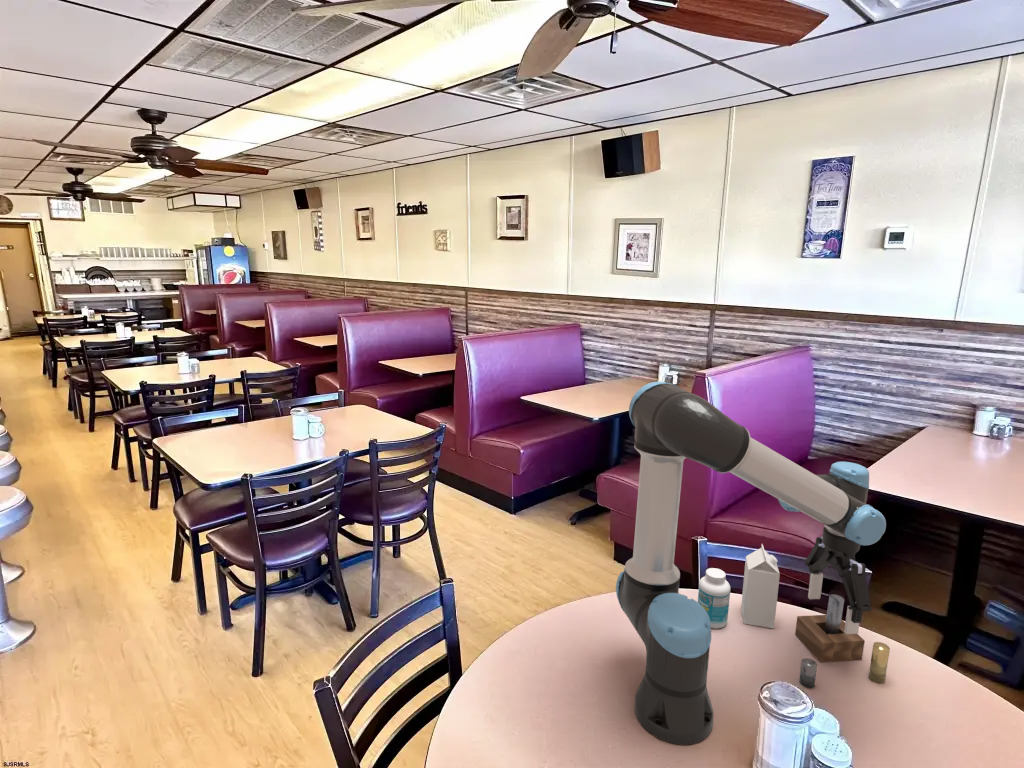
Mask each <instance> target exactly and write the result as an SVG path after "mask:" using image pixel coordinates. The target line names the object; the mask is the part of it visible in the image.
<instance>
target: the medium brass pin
mask: <svg viewBox="0 0 1024 768" xmlns="http://www.w3.org/2000/svg"><path fill="white" fill-rule="evenodd" d="M890 651H891V649H890V647H889V645H887V644H886V643H883V642H879V641H875V642H873V645H872V651H871V656H870V657H871V658H870V664H869V665H870V666H869V670H868V678H869V680H870V681H871V682H873V683H875V684H879V685H884V683H886V676H887V670H888V662H889V658H890Z"/></svg>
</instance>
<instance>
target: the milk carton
mask: <svg viewBox="0 0 1024 768" xmlns="http://www.w3.org/2000/svg"><path fill="white" fill-rule="evenodd" d="M760 546H761V547H760V548H758V549H756V550H754V551H753V552H751V553H749V554H747V555H745V563H744V564H745V565H744V574H743V583H742V595H741V596H742V597H741V605H740V610H741V617H742V622H743V624H744V625H751V626H756V627H762V628H768V629H775V623H776V622H775V621H776V613H777V606H778V605H777V604H778V595H779V594H778V593H779V588H780V587H779V585H780V578H781V577H780V575H781V574H780V570H779V567H778V564H777V563H779V562H778V558H777V557H775V555H773V554H769V552H767V551H766V550H765V548H764V545H763V543H761V545H760Z"/></svg>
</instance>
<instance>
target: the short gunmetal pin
mask: <svg viewBox="0 0 1024 768" xmlns="http://www.w3.org/2000/svg"><path fill="white" fill-rule="evenodd" d="M800 662H801V663H800V670H799V679H798V683H799V685H801V686H802V687H804V688H806V689H814V688H815V686H816V679H817V671H818V670H817V669H818V663H817V662H816V661H815V660H813V659H810V658H807V657H805V658H802V659H801V660H800Z"/></svg>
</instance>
